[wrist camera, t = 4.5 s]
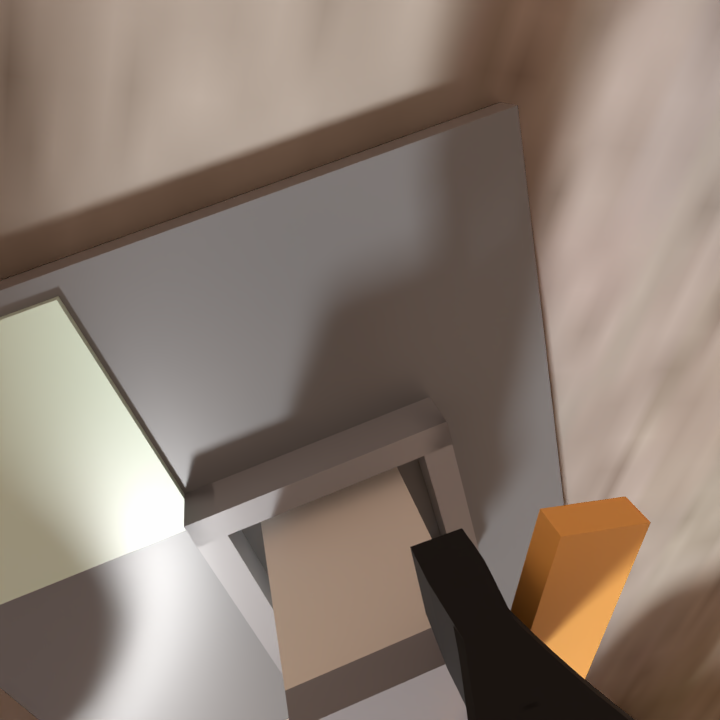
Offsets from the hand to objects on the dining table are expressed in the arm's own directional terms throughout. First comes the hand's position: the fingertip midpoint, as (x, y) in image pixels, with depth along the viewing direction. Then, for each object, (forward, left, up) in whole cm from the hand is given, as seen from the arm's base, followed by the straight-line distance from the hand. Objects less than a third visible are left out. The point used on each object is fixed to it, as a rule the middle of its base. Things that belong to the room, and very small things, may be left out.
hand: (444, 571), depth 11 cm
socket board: (-4, -2, -6) cm, 8 cm away
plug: (-2, -4, -5) cm, 7 cm away
